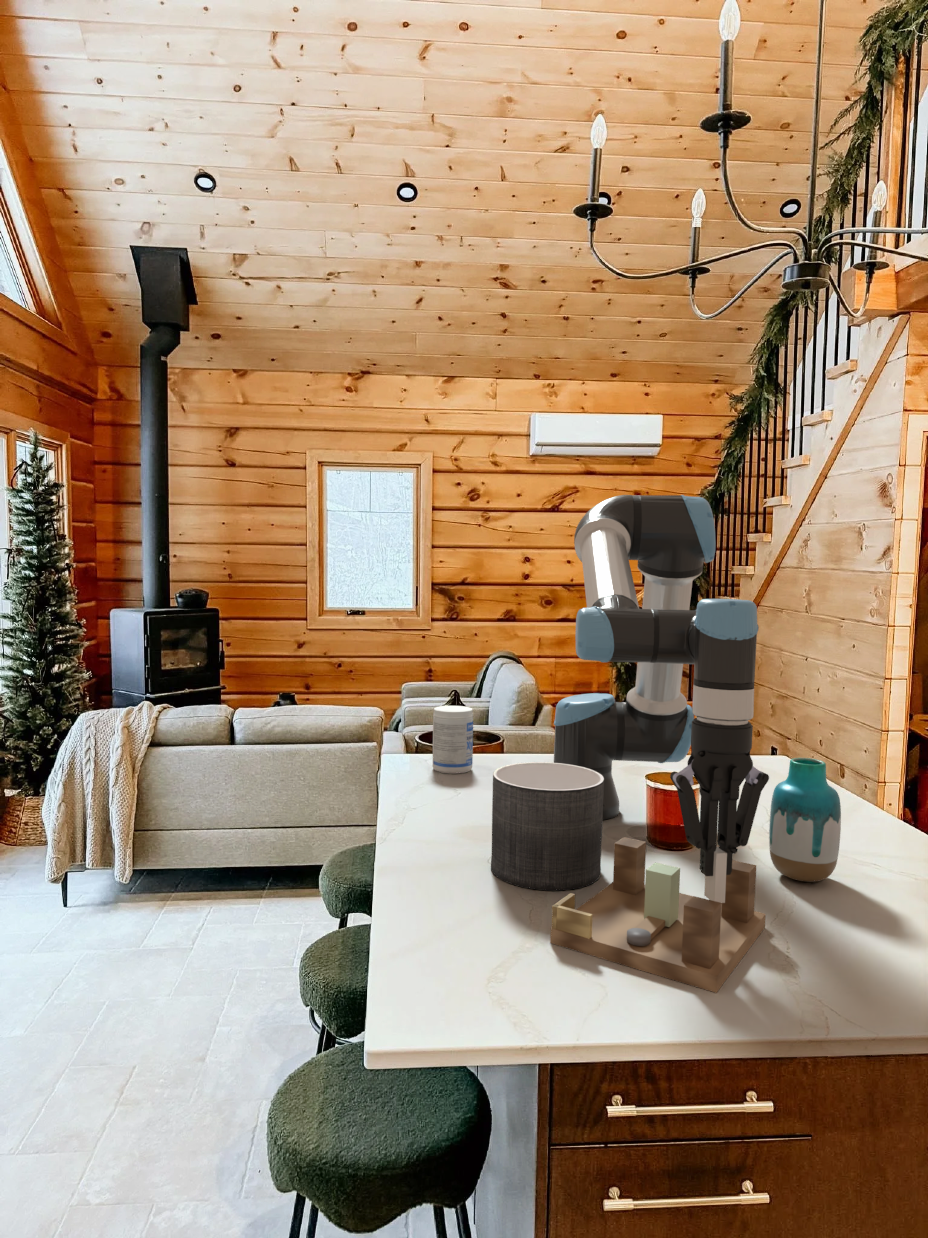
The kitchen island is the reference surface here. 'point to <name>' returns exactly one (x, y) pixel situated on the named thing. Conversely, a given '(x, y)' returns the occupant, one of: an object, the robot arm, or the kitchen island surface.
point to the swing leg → (657, 903)
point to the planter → (547, 825)
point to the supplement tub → (452, 739)
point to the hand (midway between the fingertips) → (714, 899)
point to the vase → (805, 823)
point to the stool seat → (683, 951)
